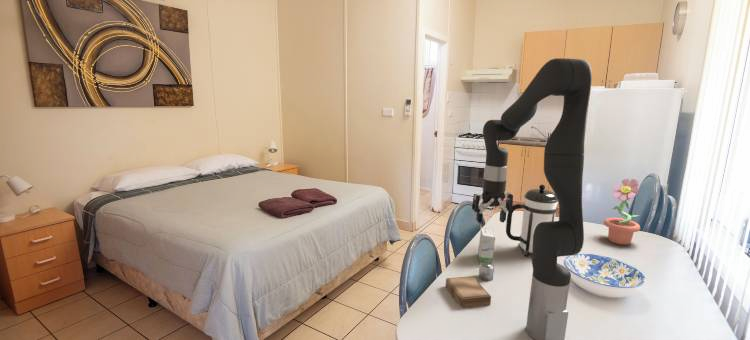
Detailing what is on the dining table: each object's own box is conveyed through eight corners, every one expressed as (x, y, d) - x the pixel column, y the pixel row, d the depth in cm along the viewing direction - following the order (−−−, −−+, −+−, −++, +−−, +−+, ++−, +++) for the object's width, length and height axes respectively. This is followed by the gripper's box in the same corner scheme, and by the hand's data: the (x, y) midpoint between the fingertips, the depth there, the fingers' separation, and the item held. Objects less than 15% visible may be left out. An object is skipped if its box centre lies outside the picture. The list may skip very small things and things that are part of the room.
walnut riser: (490, 304, 115) (491, 296, 114) (461, 307, 113) (461, 298, 112) (472, 283, 127) (472, 275, 127) (445, 286, 125) (446, 278, 125)
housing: (495, 280, 130) (496, 267, 129) (482, 281, 129) (483, 268, 128) (488, 273, 135) (489, 260, 134) (476, 274, 134) (477, 261, 133)
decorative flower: (592, 235, 173) (602, 175, 167) (617, 234, 176) (627, 174, 170) (618, 249, 159) (630, 183, 153) (644, 247, 162) (657, 182, 155)
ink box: (477, 254, 151) (480, 227, 149) (490, 255, 150) (493, 228, 148) (479, 263, 143) (481, 235, 141) (492, 264, 142) (495, 236, 140)
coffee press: (527, 241, 165) (534, 178, 159) (560, 255, 152) (570, 186, 145) (502, 249, 156) (509, 183, 149) (536, 264, 143) (545, 192, 136)
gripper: (480, 181, 119) (477, 227, 122) (519, 179, 122) (515, 225, 125) (470, 175, 126) (467, 219, 130) (507, 175, 129) (503, 217, 132)
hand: (490, 222), depth 127 cm, fingers open, 8 cm apart
